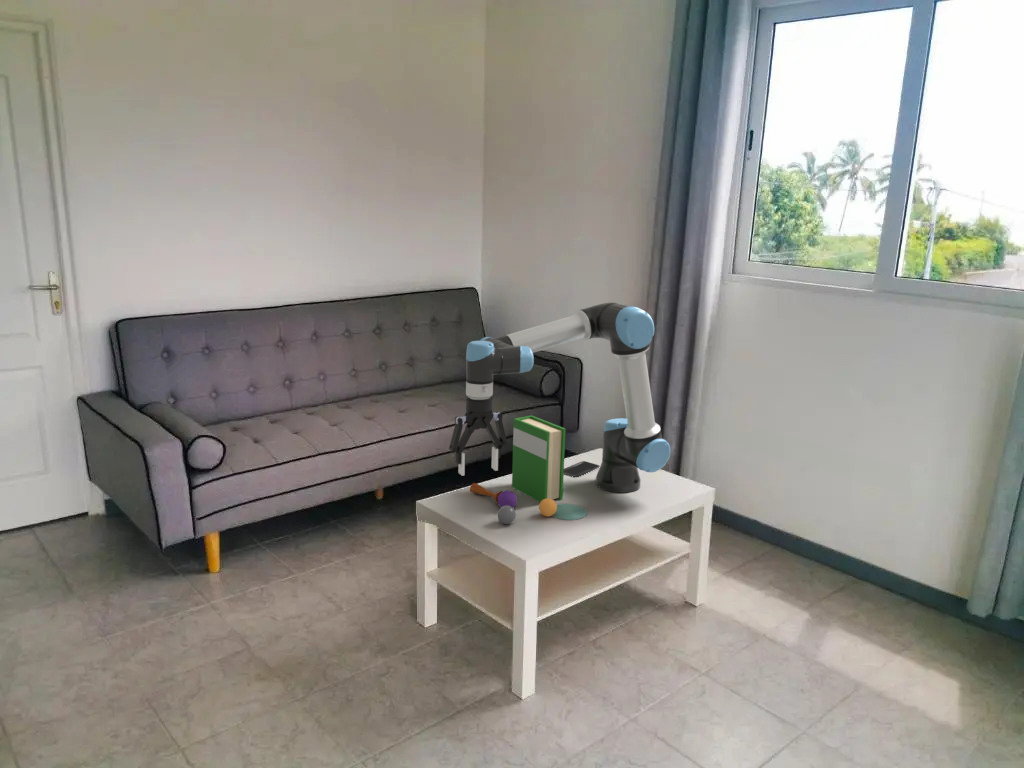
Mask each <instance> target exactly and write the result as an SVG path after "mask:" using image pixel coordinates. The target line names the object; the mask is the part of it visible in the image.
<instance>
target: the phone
mask: <svg viewBox="0 0 1024 768" xmlns="http://www.w3.org/2000/svg"><path fill="white" fill-rule="evenodd" d="M600 466H601V465H599V464H596V463H593V462H589V461H584V460H582V461H579V462H577V463H574V464H571V465H570V466H568V467H564V475H565V474H566V475H565V476H568V475H569V476H568V477H572V476H573V477H572V478H575V477H578V478H580V477H582V476H581V475H583V476H584V474H585V475H587V474H589V473H592V472H594V471H596V470H598V469H597V468H599V467H600ZM595 469H596V470H595ZM593 470H594V471H593ZM591 471H592V472H591ZM588 472H589V473H588ZM586 473H587V474H586ZM579 476H580V477H579Z"/></svg>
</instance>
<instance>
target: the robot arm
mask: <svg viewBox="0 0 1024 768" xmlns="http://www.w3.org/2000/svg"><path fill="white" fill-rule="evenodd" d="M654 335H655V325H654V320H653V319H652V316H651V315H650V314H649V313H648V312H647V311H645V310H643V309H641V308H640V307H636V306H634V305H633V306H632V305H625V304H622V303H618V302H604V303H600V304H596V305H592V306H589V307H585V308H582V309H579V310H577V311H575V312H574V314H573V315H569V316H567V317H563V318H560V319H556V320H553V321H549V322H546V323H542V324H539V325H536V326H532V327H529V328H526V329H522V330H519V331H518V330H517V331H515V332H512V333H508V334H506V335H501V336H498V337H493V336H492V337H491V336H485V337H483V338H481V339H480V340H472V341H470V342H469V343H468V344H467V346H466V353H465V354H466V355H465V360H466V361H465V362H466V363H465V364H466V365H465V366H466V367H465V368H466V375H465V376H466V379H465V380H466V382H465V395H466V397H465V414H464V416H458V415H457V416H454V421H455V422H454V423H455V425H454V428H453V432H452V436H451V440H450V444H449V447H448V448H449V450H450V451H451V452H452V453H455V463H456V464H457V465H458V470H457V471H458V472H457V473H458V474H459V475H461V477H462V476H465V472H466V471H465V469H466V468H465V467H466V466H465V465H466V463H465V462H466V461H465V460H466V458H465V457H466V453H465V452H464V449H465V448H466V445H467V444H468V442H469V440H470V438H471V436H472V434H473V433H474V432H475V430H476V431H477V430H480V429H482V430H483V429H485V430H486V432H487V434H488V436H489V437H490V438H489V439H491V441H492V443H493V444H494V445H493V446H491V469H493V471H495V472H496V471H499V459H501V457H502V456H501V455H502V449H503V448H504V446H508V440H507V436H506V432H505V428H504V427H505V426H504V424H503V416H504V415H503V414H502V413H501V412H499V411H496V412H493V405H494V404H493V401H494V400H493V399H494V398H493V397H492V396H493V394H494V388H493V387H494V375H497V376H498V375H508V374H509V375H510V374H521V373H526V372H530V371H531V370H532V369H533V367H534V363H535V361H534V360H535V358H534V353H537V352H539V351H540V352H541V351H543V350H547V349H549V348H550V349H551V348H553V347H556V346H560V345H563V344H566V343H570V342H573V341H576V340H581V339H582V340H584V341H587V340H591V339H604V340H608V341H609V344H610V345H609V346H610V350H611V351H610V353H611V354H612V355H613V356H615V357H616V358H617V361H618V362H617V364H618V369H619V370H618V371H619V376H620V377H619V378H620V383H621V390H622V396H623V403H624V410H625V418H622V417H621V418H612V419H608V420H606V421H605V422H604V425H603V431H602V432H603V435H602V436H603V437H602V438H603V439H602V456H601V458H602V459H601V464H600V465H599V466H600V468H599V469H598V471H597V474H596V477H595V485H596V486H597V487H598V488H600V489H602V490H605V491H609V492H611V493H612V492H613V493H631V492H636V491H638V490H639V489H640V488H641V476H640V473H639V471H644V472H646V473H655V472H658V471H660V470H662V469H663V468H664V467H665V465H666V464H667V462H669V459H670V456H671V453H672V452H671V446H670V444H669V442H668V441H667V440H666V439H664V438H663V436H662V429H661V425H660V424H658V423H657V422H656V421H655V420H656V419H655V412H654V407H653V400H652V392H651V385H650V378H649V370H648V363H647V356H646V353H647V352H648V350H649V349H650V344H651V342H652V340H653V339H652V338H653V337H654ZM492 419H493V420H494V422H495V427H496V431H497V434H496V432H495V430H494V428H493V426H492V424H491V421H492ZM465 423H466V425H465V429H464V431H463V427H464V426H463V425H464V424H465ZM462 431H463V432H462ZM461 434H462V435H461ZM497 435H498V436H497Z"/></svg>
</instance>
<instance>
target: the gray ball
mask: <svg viewBox="0 0 1024 768" xmlns="http://www.w3.org/2000/svg"><path fill="white" fill-rule="evenodd" d="M516 518H517V512H516V510H515V507H514V508H512V507H511V506H503V507H499V510H498V511H497V519H498V521H499V522H500V523H502V524H503V525H510V524H512V523H514V522H515V520H516Z"/></svg>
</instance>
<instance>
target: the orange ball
mask: <svg viewBox="0 0 1024 768" xmlns="http://www.w3.org/2000/svg"><path fill="white" fill-rule="evenodd" d="M557 505H558V504H557V503H556V501H555V499H550V498H546V499H543V500H542V501H541V502H539V504H538V511H539V512H540V514H541V515H542V516H544V517H547V518H548V517H553V516H552V515H554V514H555V512H556V510H557Z"/></svg>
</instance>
